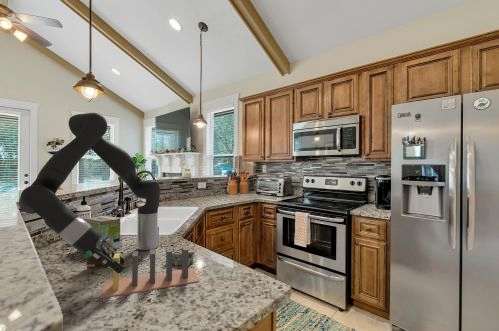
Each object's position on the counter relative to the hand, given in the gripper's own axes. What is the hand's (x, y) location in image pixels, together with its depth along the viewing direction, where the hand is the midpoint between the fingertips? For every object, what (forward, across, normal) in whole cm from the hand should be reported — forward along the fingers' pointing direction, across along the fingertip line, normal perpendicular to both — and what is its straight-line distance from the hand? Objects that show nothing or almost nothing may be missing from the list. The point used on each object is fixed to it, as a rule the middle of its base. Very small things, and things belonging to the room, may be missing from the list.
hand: (122, 266), depth 84 cm
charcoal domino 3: (+15, 0, -6) cm, 16 cm away
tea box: (-4, +49, +14) cm, 51 cm away
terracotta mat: (+11, 0, -2) cm, 11 cm away
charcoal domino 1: (+7, 0, +2) cm, 7 cm away
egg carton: (+19, +15, -10) cm, 26 cm away
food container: (-1, +24, +11) cm, 26 cm away
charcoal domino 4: (+19, 0, -10) cm, 21 cm away
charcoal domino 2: (+11, 0, -2) cm, 11 cm away
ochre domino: (+3, 0, +6) cm, 6 cm away
